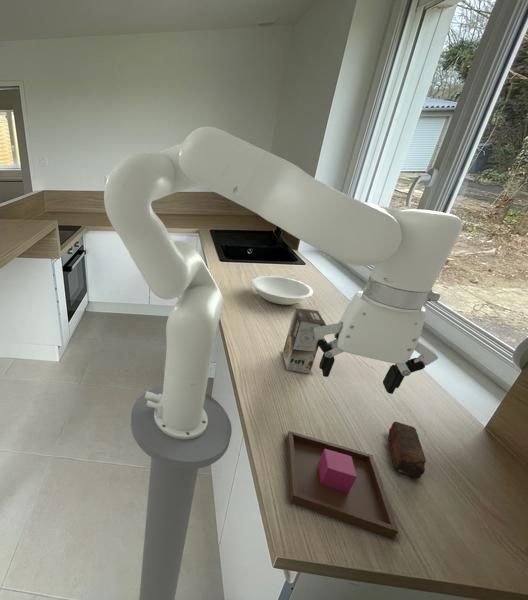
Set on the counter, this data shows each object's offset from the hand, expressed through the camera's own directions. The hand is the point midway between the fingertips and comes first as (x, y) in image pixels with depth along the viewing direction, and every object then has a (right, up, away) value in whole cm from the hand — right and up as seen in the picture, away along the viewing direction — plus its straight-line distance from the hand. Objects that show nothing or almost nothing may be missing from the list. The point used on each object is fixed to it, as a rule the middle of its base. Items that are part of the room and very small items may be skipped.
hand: (354, 380), depth 57 cm
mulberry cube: (-1, -20, +5) cm, 21 cm away
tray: (-1, -21, +5) cm, 21 cm away
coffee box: (+10, -5, +39) cm, 41 cm away
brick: (+17, -19, +10) cm, 27 cm away
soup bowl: (+23, +14, +79) cm, 84 cm away
